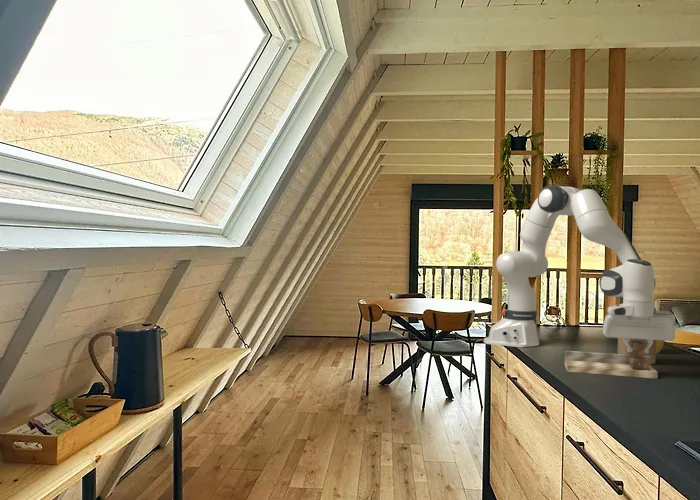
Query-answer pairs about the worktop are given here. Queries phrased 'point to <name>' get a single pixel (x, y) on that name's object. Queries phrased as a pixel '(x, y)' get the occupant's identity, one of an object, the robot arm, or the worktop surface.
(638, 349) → the marking gauge
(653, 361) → the wooden block
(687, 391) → the worktop surface
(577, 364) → the board
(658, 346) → the flower pot
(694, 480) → the worktop surface
